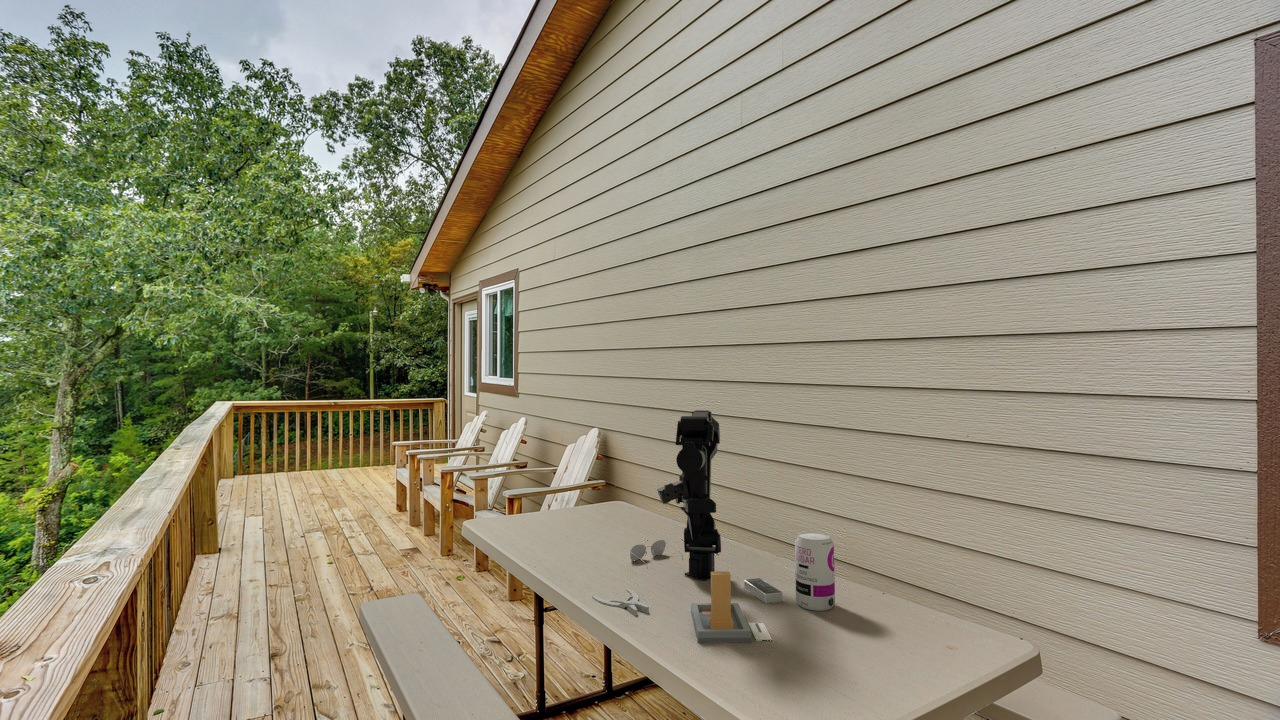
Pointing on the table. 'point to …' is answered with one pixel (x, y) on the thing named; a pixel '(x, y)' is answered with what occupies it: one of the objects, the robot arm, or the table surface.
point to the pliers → (626, 603)
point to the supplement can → (815, 571)
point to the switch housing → (737, 634)
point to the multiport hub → (763, 590)
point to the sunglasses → (640, 550)
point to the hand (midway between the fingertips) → (694, 540)
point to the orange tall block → (721, 601)
